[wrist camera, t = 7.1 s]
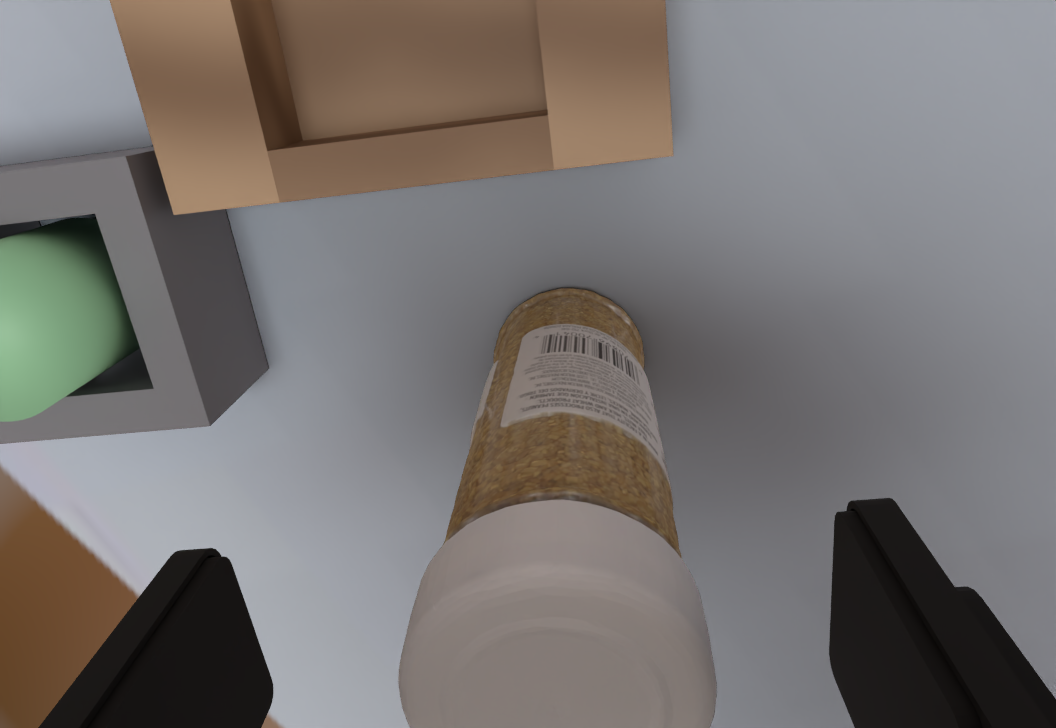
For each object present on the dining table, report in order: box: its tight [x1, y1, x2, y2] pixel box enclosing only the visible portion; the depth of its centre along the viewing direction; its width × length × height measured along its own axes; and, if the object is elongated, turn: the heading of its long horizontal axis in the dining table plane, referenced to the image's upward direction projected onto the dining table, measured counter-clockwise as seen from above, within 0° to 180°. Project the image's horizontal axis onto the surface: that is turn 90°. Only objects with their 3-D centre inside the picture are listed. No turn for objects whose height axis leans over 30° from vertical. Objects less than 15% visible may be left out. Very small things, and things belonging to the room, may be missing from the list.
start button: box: [0, 218, 140, 422], centre depth 19 cm, size 4×4×4 cm
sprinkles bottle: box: [399, 288, 717, 728], centre depth 17 cm, size 5×5×14 cm
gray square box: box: [0, 146, 269, 444], centre depth 21 cm, size 7×7×4 cm
